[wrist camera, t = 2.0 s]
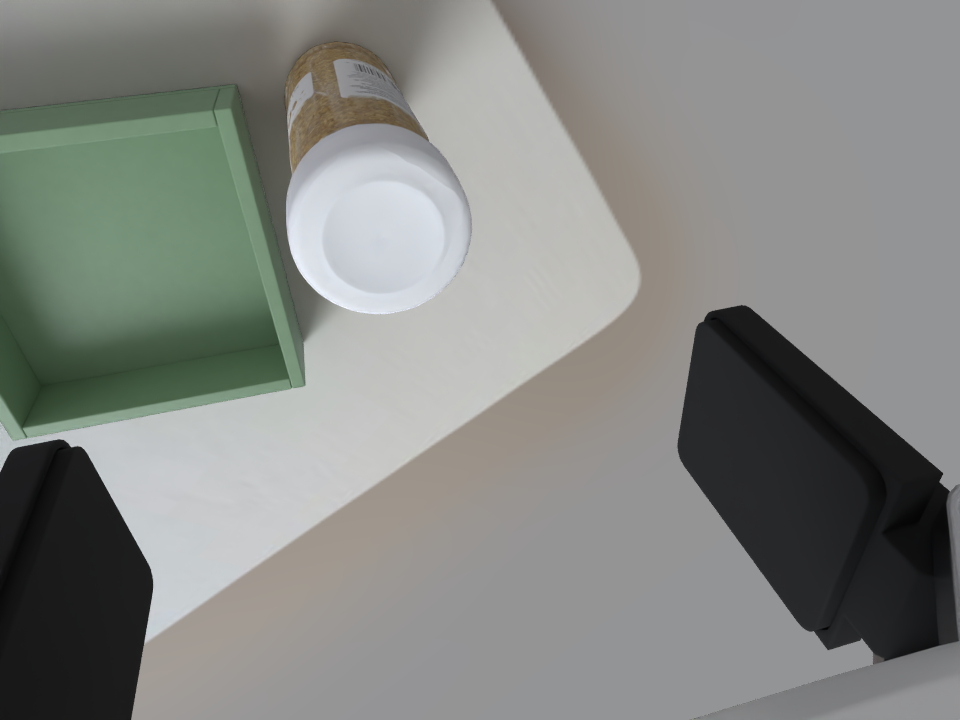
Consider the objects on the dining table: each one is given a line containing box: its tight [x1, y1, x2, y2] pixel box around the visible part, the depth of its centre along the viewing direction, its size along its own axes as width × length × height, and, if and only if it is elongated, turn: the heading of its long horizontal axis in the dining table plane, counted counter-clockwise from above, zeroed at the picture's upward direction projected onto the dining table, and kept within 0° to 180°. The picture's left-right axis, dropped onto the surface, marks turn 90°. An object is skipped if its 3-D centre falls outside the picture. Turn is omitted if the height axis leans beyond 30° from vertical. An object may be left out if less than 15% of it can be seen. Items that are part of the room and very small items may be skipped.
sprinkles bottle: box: [284, 42, 472, 314], centre depth 21 cm, size 5×5×13 cm
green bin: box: [0, 84, 305, 440], centre depth 27 cm, size 12×12×4 cm
